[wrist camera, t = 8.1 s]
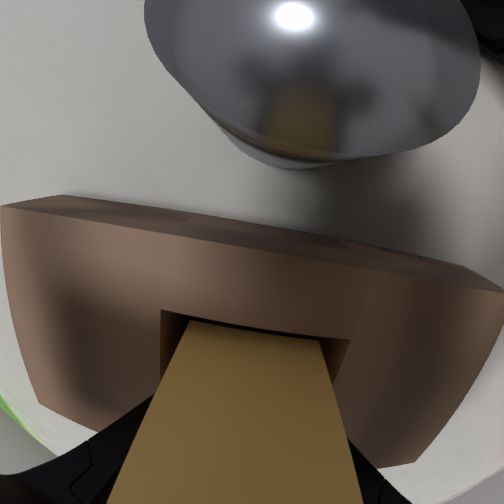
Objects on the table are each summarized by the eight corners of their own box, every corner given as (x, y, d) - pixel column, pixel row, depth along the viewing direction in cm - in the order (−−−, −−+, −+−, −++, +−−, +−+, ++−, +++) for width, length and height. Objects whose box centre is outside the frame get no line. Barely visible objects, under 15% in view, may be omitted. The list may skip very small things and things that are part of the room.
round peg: (374, 49, 9) (458, -34, 2) (358, 185, 10) (475, 202, 4) (228, 19, 9) (197, -95, 2) (198, 155, 10) (103, 125, 4)
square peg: (318, 340, 9) (380, 590, 1) (288, 422, 10) (297, 602, 2) (190, 319, 9) (81, 567, 1) (185, 406, 10) (131, 583, 2)
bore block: (463, 266, 11) (514, 295, 7) (394, 416, 14) (414, 462, 10) (59, 194, 11) (0, 205, 7) (72, 364, 13) (39, 403, 10)
